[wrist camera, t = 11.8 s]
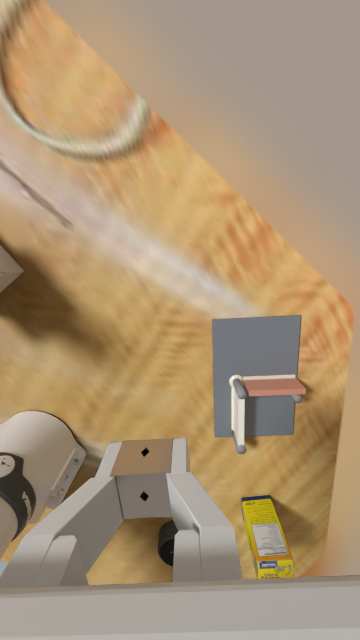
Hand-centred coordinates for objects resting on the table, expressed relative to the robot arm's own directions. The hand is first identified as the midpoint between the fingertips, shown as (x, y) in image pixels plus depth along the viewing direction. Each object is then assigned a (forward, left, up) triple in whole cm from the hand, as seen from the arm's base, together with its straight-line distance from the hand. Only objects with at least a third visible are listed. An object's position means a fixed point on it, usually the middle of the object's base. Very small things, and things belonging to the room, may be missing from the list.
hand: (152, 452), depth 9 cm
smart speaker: (-48, -15, -32) cm, 59 cm away
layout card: (-9, -17, -31) cm, 37 cm away
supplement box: (-36, -28, -31) cm, 55 cm away
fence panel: (-8, -19, -30) cm, 37 cm away
